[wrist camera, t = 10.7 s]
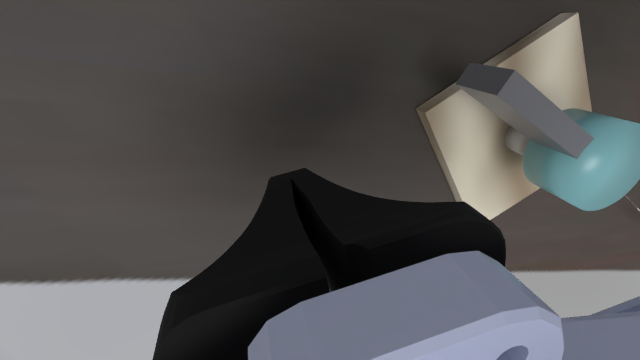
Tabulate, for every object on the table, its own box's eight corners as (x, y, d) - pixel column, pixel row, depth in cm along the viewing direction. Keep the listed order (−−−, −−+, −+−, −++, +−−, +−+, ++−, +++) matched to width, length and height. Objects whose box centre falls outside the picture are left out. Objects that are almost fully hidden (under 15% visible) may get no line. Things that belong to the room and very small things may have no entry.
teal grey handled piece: (608, 131, 21) (667, 149, 18) (553, 197, 22) (600, 222, 19) (492, 26, 16) (547, 27, 13) (431, 116, 18) (470, 134, 15)
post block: (561, 13, 22) (629, 11, 18) (582, 146, 27) (639, 166, 23) (415, 108, 22) (453, 126, 18) (464, 221, 27) (502, 253, 23)
